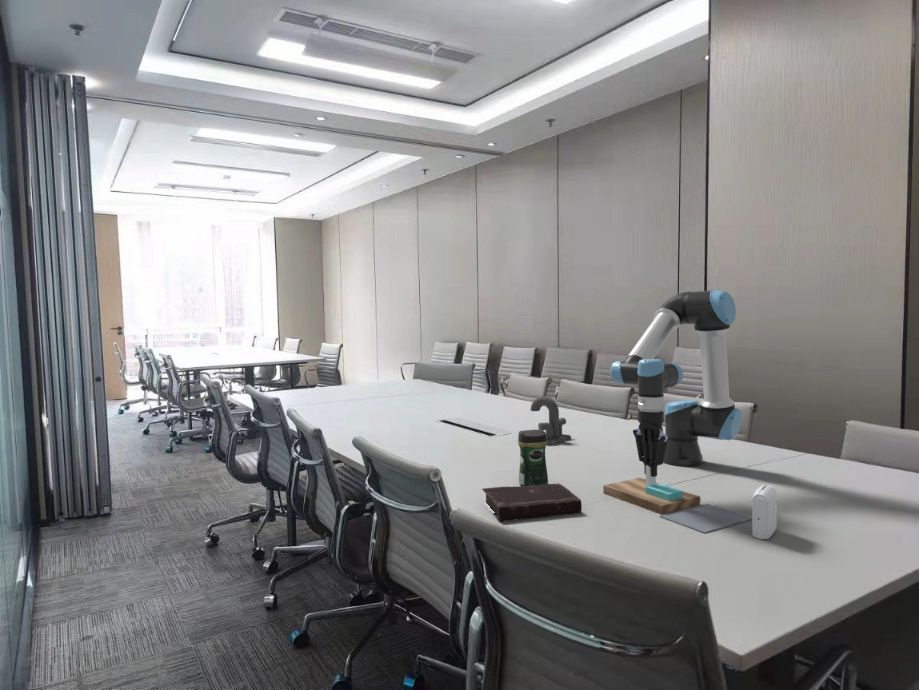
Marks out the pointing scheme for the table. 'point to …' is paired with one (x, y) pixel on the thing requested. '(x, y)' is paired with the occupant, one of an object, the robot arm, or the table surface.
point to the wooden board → (648, 496)
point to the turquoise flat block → (664, 492)
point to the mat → (706, 518)
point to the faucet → (551, 420)
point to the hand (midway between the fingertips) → (650, 486)
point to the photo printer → (764, 512)
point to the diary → (532, 501)
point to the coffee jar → (532, 458)
